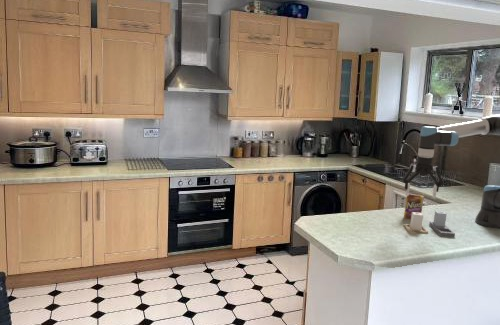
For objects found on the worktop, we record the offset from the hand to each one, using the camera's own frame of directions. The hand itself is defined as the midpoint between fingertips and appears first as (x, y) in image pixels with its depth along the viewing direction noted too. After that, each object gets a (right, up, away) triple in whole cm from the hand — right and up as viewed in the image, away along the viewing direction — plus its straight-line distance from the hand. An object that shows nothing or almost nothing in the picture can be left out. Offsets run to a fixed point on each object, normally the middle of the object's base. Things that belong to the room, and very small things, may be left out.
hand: (420, 196), depth 218 cm
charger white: (-1, -18, +3) cm, 18 cm away
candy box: (+5, -16, +24) cm, 29 cm away
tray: (-2, -19, +3) cm, 19 cm away
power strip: (+13, -19, +7) cm, 24 cm away
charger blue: (+13, -18, +8) cm, 24 cm away
